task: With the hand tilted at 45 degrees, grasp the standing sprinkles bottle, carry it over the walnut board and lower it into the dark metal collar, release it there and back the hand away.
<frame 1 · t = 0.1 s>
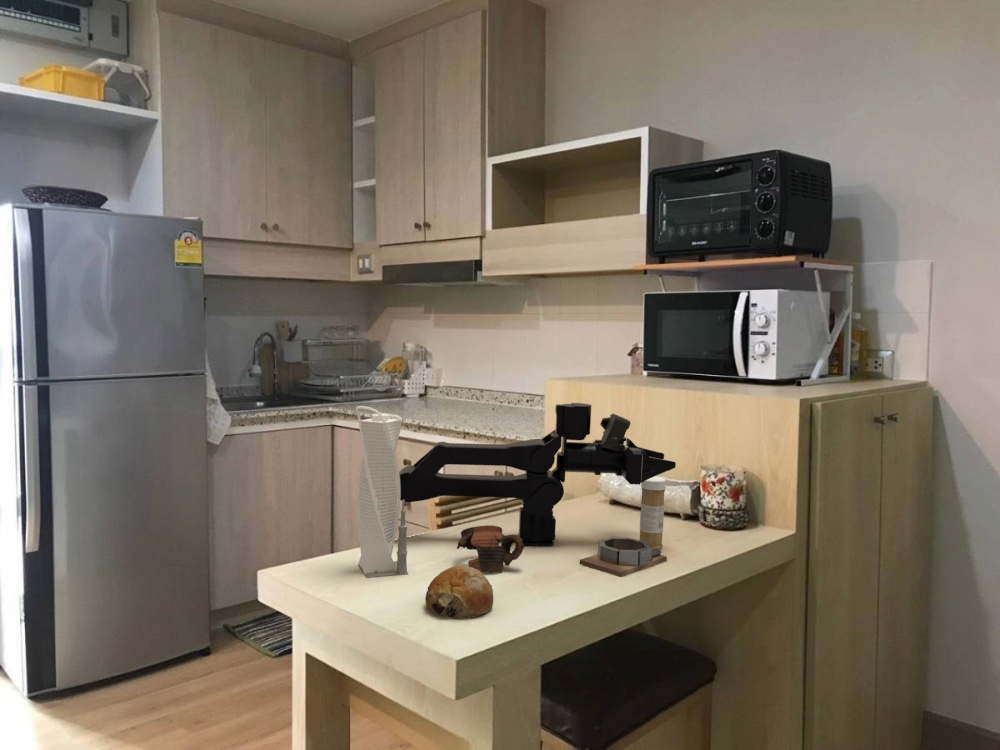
hand: (669, 460, 157), 17 cm above the breakfast bar, tool horizontal, fingers open, 9 cm apart
bread roll: (458, 609, 121), on the breakfast bar
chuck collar: (627, 549, 146), on the walnut board, point 2 cm above the breakfast bar
pottery mug: (489, 568, 141), on the breakfast bar
skyscraper: (377, 571, 137), on the breakfast bar
walnut board: (623, 562, 146), on the breakfast bar
sprinkles bottle: (650, 548, 156), on the breakfast bar
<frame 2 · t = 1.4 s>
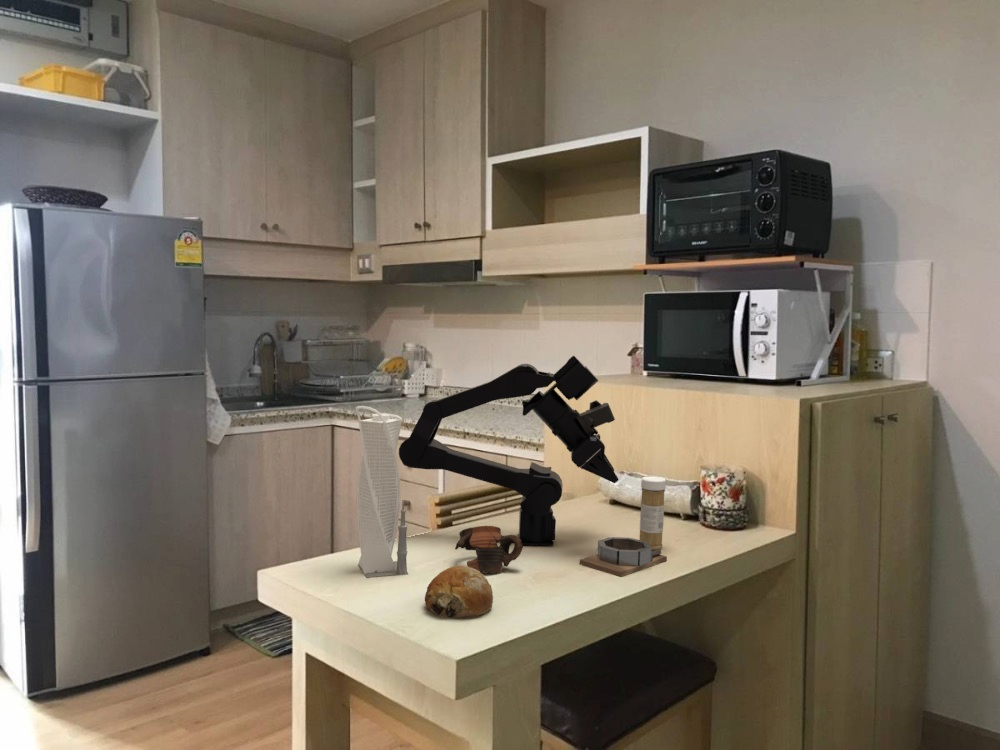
hand: (614, 476, 155), 13 cm above the breakfast bar, tool tilted 45°, fingers open, 9 cm apart
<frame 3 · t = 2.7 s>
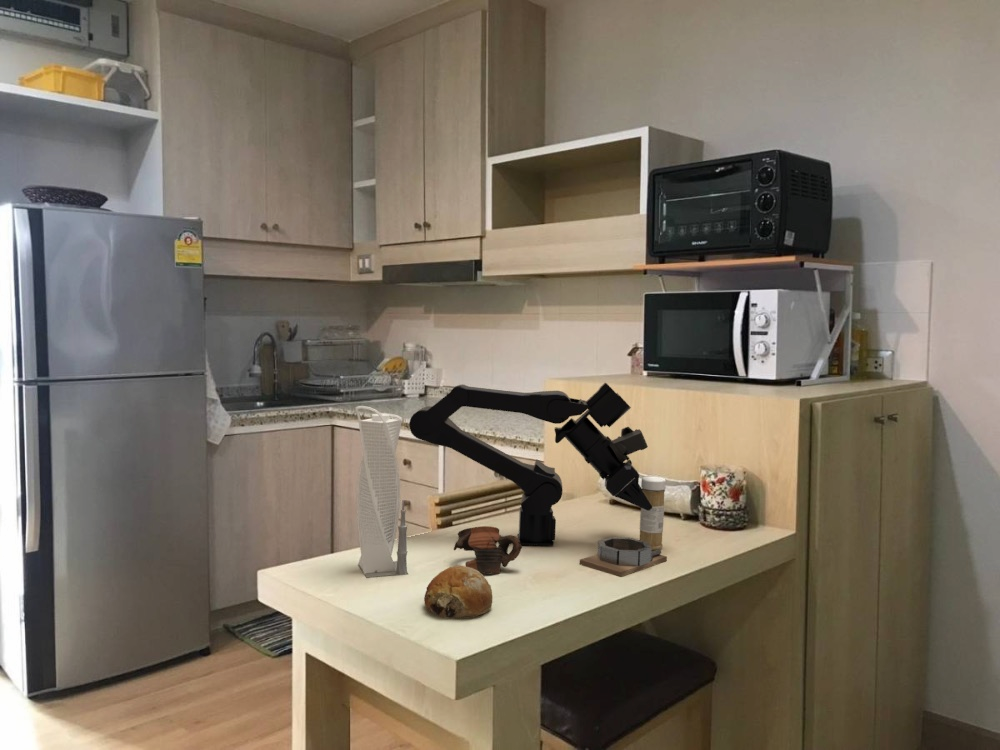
hand: (647, 503, 155), 9 cm above the breakfast bar, tool tilted 45°, fingers open, 9 cm apart
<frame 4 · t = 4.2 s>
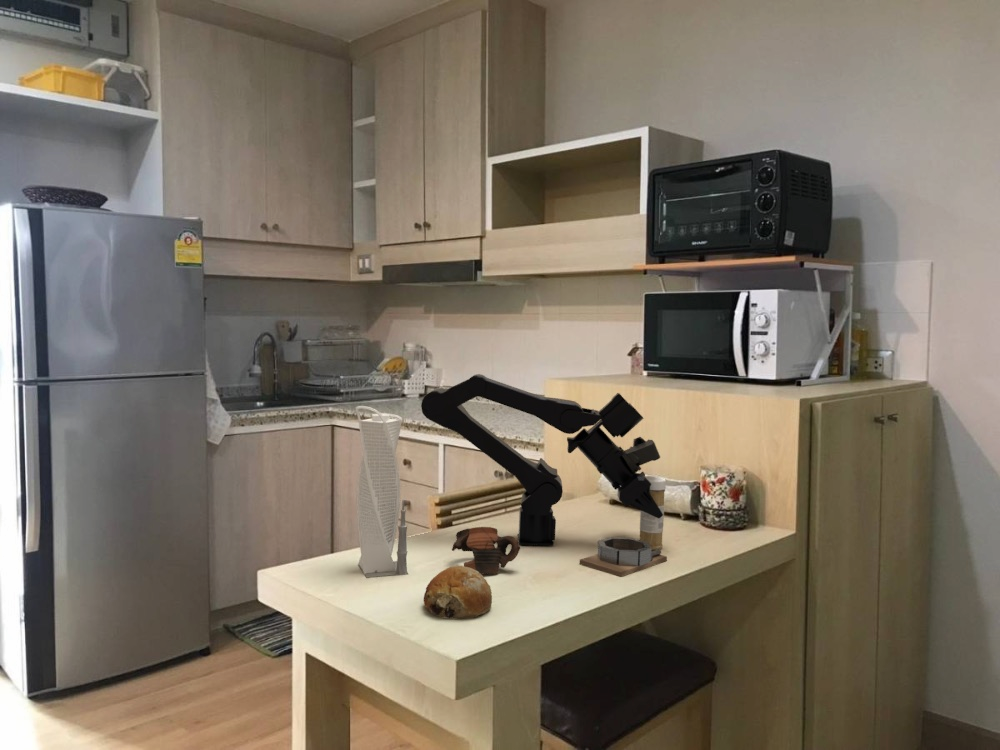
hand: (659, 513, 155), 7 cm above the breakfast bar, tool tilted 45°, fingers closed on sprinkles bottle, 4 cm apart
sprinkles bottle: (650, 548, 156), on the breakfast bar, touching gripper
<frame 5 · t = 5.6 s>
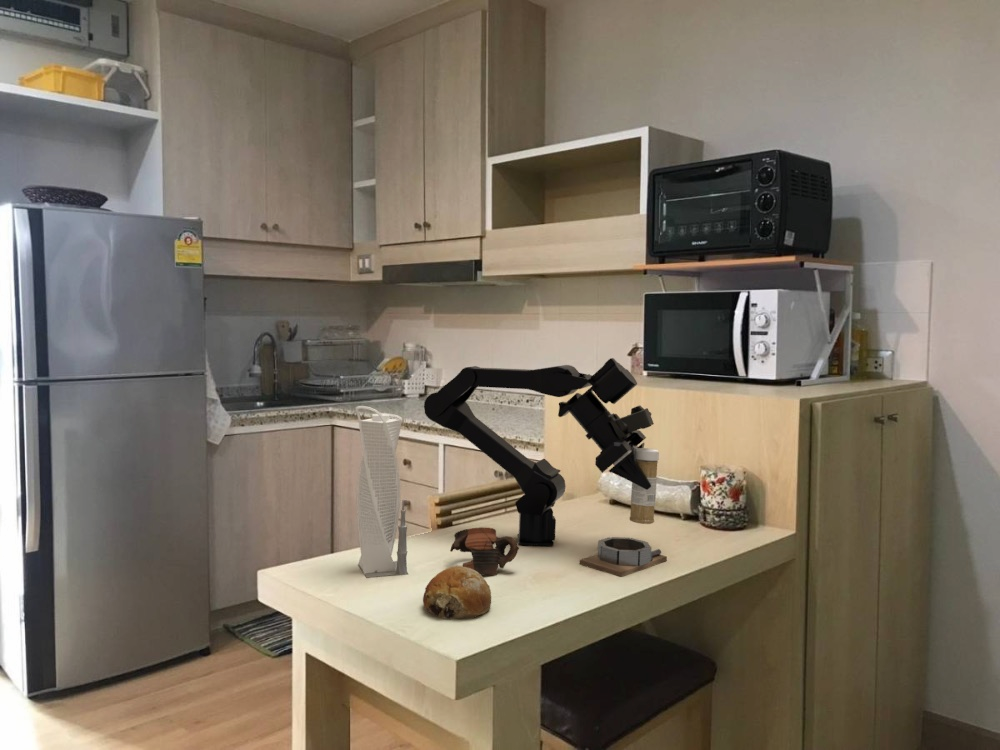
hand: (651, 485, 149), 13 cm above the breakfast bar, tool tilted 45°, fingers closed on sprinkles bottle, 4 cm apart
sprinkles bottle: (641, 523, 149), point 6 cm above the breakfast bar, touching gripper
when the fingers open (8 cm above the breakfast bar, at t = 7.4 s): sprinkles bottle stays where it is, resting on walnut board.
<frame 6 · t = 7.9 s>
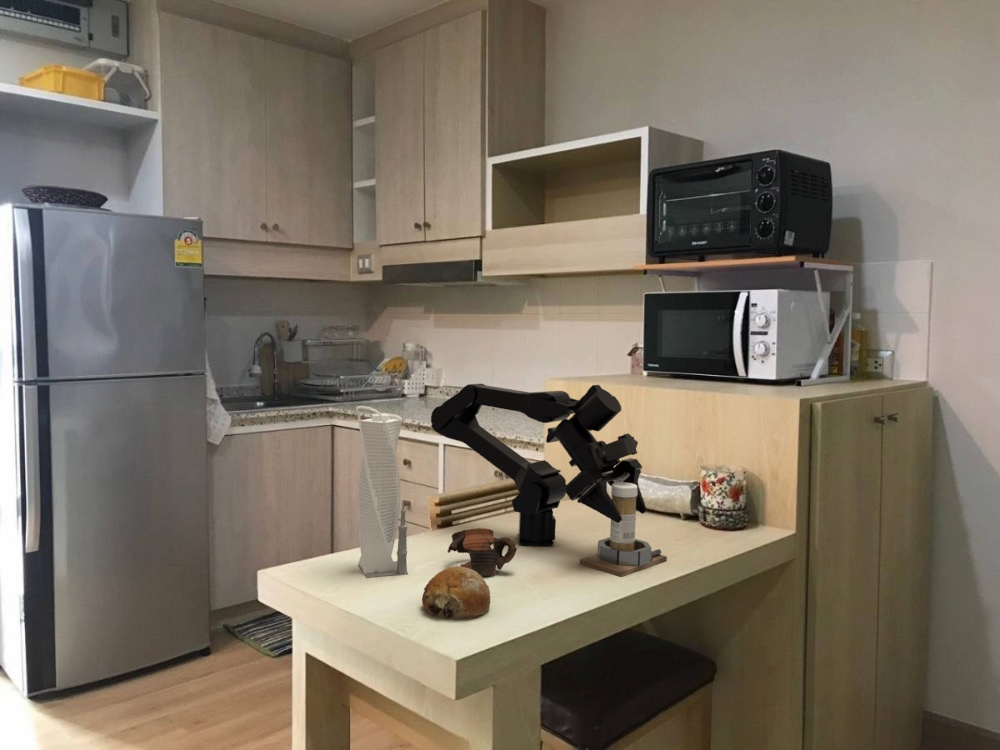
hand: (632, 516, 144), 9 cm above the breakfast bar, tool tilted 45°, fingers open, 9 cm apart
sprinkles bottle: (621, 559, 145), point 1 cm above the breakfast bar, touching walnut board
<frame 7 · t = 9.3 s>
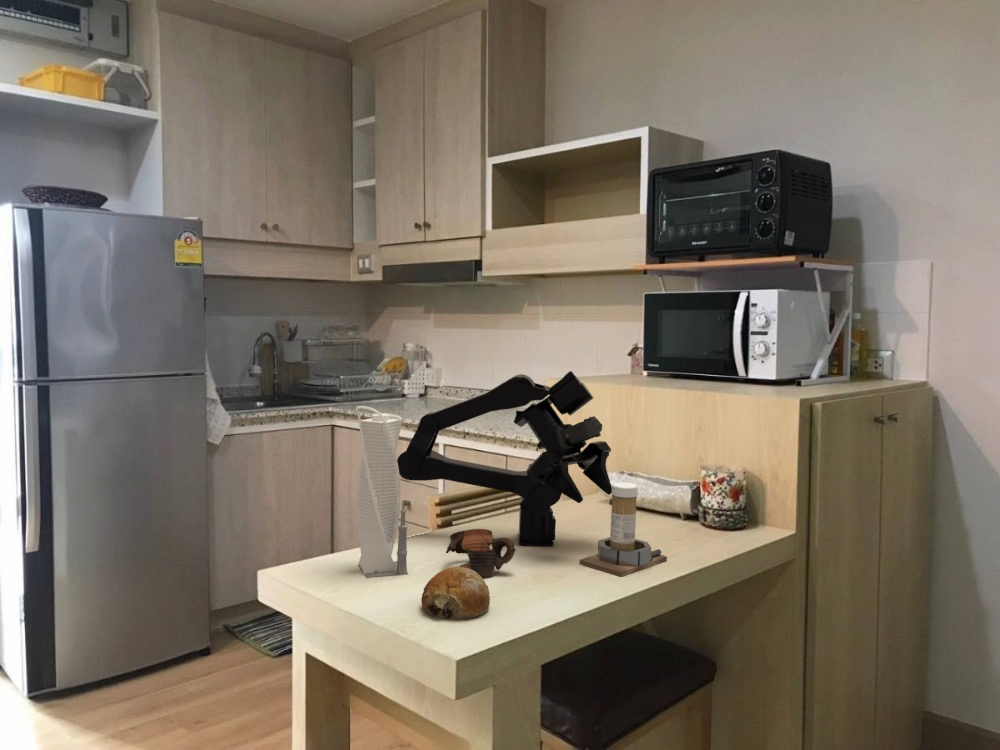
hand: (596, 497, 148), 11 cm above the breakfast bar, tool tilted 45°, fingers open, 9 cm apart
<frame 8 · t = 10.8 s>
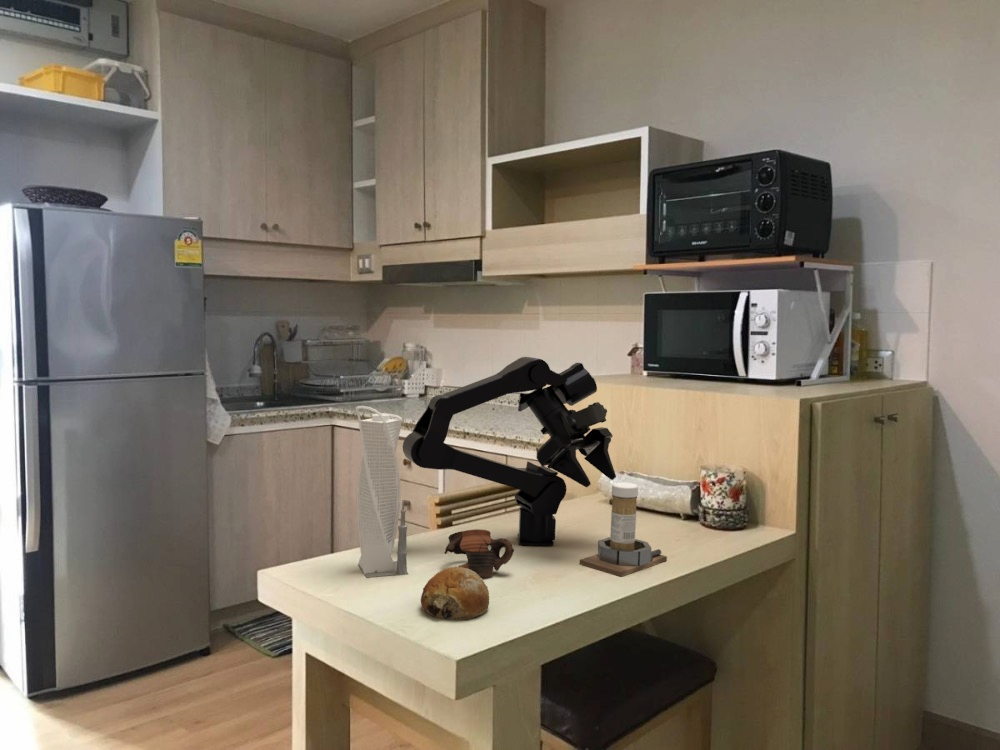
hand: (601, 482, 149), 14 cm above the breakfast bar, tool tilted 45°, fingers open, 9 cm apart
at the end: sprinkles bottle 0.7 cm from the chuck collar (horizontally); sprinkles bottle point 0.6 cm above the breakfast bar; sprinkles bottle tilted 0° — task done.
